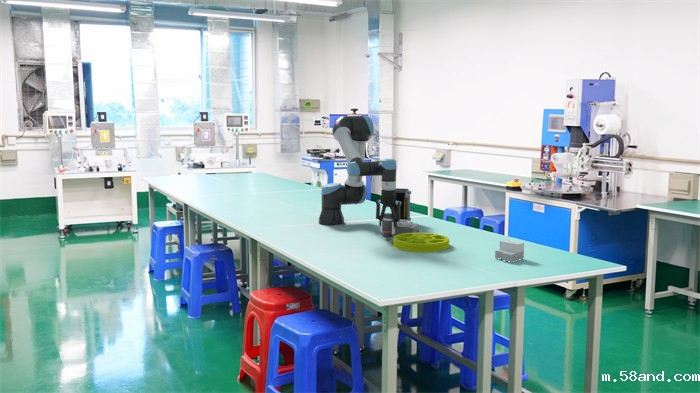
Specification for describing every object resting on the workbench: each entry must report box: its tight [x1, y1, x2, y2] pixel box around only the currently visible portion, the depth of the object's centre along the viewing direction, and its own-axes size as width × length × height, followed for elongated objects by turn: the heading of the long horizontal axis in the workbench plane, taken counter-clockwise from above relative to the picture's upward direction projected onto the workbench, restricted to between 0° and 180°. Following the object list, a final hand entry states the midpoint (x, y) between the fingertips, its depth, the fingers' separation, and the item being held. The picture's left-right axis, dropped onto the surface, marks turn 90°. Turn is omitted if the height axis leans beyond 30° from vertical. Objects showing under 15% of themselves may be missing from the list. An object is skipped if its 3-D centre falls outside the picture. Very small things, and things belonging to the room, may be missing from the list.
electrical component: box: [394, 187, 412, 222], centre depth 368 cm, size 18×10×20 cm, turn 168°
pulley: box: [392, 232, 450, 253], centre depth 313 cm, size 28×28×5 cm
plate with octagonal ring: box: [393, 220, 420, 237], centre depth 341 cm, size 16×11×7 cm
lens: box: [382, 212, 394, 239], centre depth 327 cm, size 5×5×12 cm
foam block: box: [494, 239, 525, 263], centre depth 285 cm, size 10×10×8 cm
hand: (387, 233), depth 327 cm, fingers closed on lens, 5 cm apart
